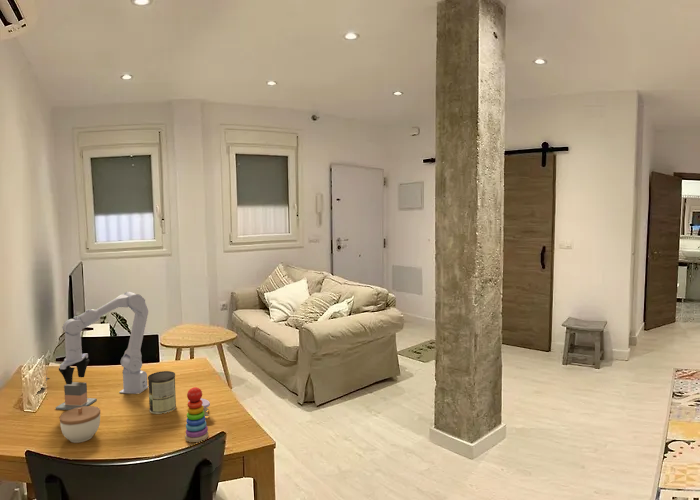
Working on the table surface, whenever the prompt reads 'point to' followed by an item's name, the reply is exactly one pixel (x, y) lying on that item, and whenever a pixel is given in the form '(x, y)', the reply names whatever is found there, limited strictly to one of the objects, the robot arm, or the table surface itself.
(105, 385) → the table surface
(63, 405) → the slate baseplate
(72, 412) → the lidded bowl
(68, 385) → the charcoal brick
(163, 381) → the coffee can
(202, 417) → the stacking toy
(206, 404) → the toy table
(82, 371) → the robot arm
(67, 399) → the terracotta brick
